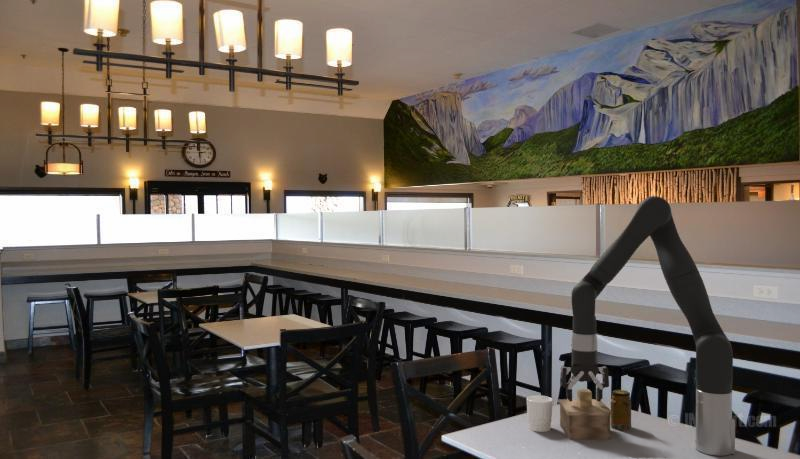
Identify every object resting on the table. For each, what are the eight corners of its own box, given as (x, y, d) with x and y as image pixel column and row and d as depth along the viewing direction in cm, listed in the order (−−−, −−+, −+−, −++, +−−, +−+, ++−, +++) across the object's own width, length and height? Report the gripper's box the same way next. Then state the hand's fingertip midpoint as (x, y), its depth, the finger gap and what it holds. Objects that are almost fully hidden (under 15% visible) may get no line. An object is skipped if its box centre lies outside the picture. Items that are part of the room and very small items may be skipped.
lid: (599, 405, 204) (599, 385, 204) (612, 418, 191) (612, 396, 191) (558, 405, 205) (558, 385, 204) (568, 418, 192) (568, 396, 191)
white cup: (557, 432, 200) (557, 400, 200) (535, 436, 197) (535, 403, 197) (542, 425, 207) (542, 394, 207) (521, 428, 205) (521, 396, 204)
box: (598, 428, 204) (598, 403, 204) (610, 441, 192) (610, 414, 192) (560, 428, 204) (560, 403, 204) (569, 441, 192) (569, 414, 192)
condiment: (617, 425, 207) (617, 387, 207) (642, 431, 201) (642, 393, 201) (604, 429, 203) (604, 391, 203) (629, 436, 196) (629, 397, 196)
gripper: (563, 350, 194) (563, 404, 194) (611, 350, 194) (611, 404, 194) (558, 345, 201) (558, 397, 202) (604, 345, 201) (604, 397, 202)
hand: (584, 400), depth 198 cm, fingers open, 8 cm apart
